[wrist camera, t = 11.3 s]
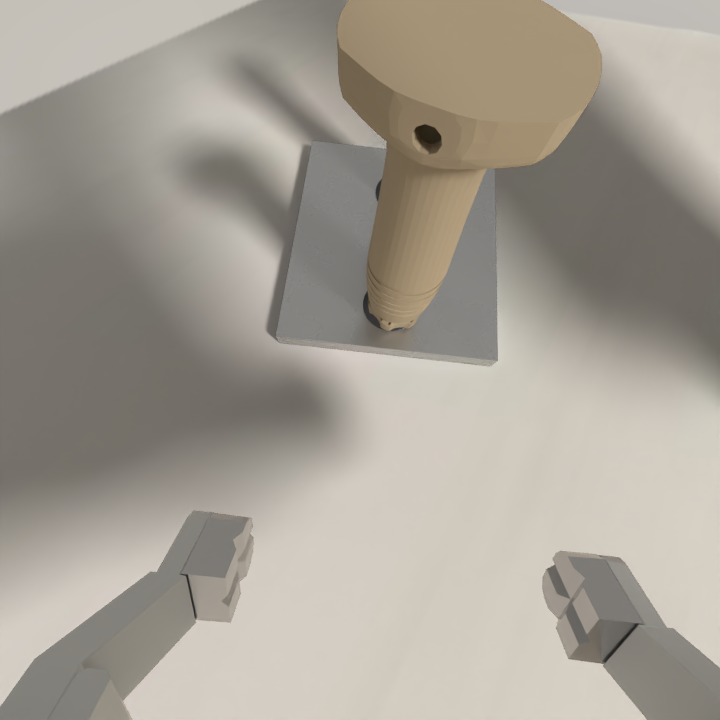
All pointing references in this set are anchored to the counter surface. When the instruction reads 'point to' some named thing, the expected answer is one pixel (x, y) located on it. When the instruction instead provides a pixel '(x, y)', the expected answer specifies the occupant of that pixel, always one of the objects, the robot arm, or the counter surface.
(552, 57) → the handle
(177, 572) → the robot arm
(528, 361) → the counter surface
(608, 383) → the counter surface
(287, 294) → the plate
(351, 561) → the counter surface
